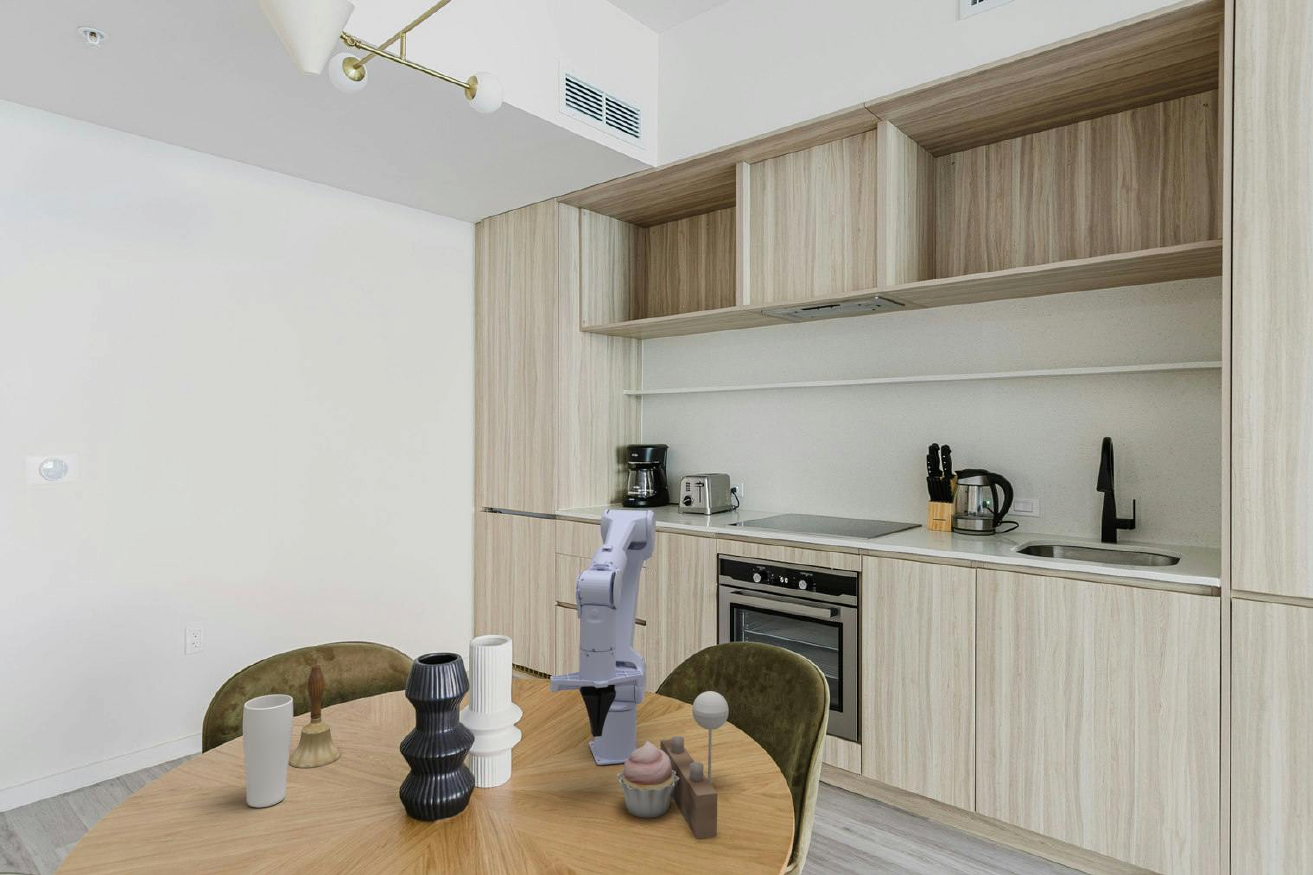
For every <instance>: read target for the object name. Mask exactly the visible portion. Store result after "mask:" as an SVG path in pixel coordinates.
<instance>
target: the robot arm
mask: <svg viewBox="0 0 1313 875" xmlns="http://www.w3.org/2000/svg"><path fill="white" fill-rule="evenodd" d="M656 522H657V520H656V513H655V512H654V511H653V510H652V509H648V510H633V509H629V510H627V509H624V510H623V509H610V508H606V509H605V510H604V511H603V512H602V515H601V518H600V536H601V538H602V543H603V544H602V545H600V546H598V547H597V549H596V550H595V551H594V554H593V556H592V559H591V561H590V562H589V566H588V568H587V569H585V570H584V571H583V572H580V573H579V574H578V575H577V578H576V583H575V601H576V606H577V608H576V609H577V618H578V619H579V658H578V659H579V660H578V662H579V664H578V665H579V666H578V667H579V669H578V671H576V672H572V673H571V672H570V673H567V674H560V675H552V676H550V678H549V679H550V680H549V681H550V683H549V688H550V691H551V693H559V691H572V690H579V693H580V695H581V698H582V700H583V702H584V705H585V707H586V712H587V715H588V718H589V719H588V720H589V725H590V733H591V736H592V738H593V739H594V740H590V741H589V742H588V746H589V748H590V751H591V754H592V755H593V758H594V762H595V763H596V765H597V766H603V765H604V766H605V765H613V764H625V762H626V761H627V760H628V759H629V758H630V755H631V753H632V752H633V751H635V750H637V749H638V748H637V719H638V718H637V716H638V715H637V713H638V712H637V709H638V708H637V707H638V705H641V704H642V703H643V702H644V699H645V696H646V687H647V674H646V673H647V672H646V671H647V664H646V661H645V659H644V657H643V656H642V655H641V654H640V653H638V651H636V650H635V649H634V648H633V647H634V638H635V637H634V636H635V630H636V629H635V626H636V619H637V618H636V616H637V608H638V601H639V600H638V598H639V588H640V580H641V577H640V576H641V571H642V569H643V564H644V562H645V561H646V560H648V559H651V558H652V557H653V552H654V551H655V550H654V549H655V541H656V532H657V531H656V530H657V525H656V524H657V523H656Z"/></svg>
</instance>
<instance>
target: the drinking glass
mask: <svg viewBox="0 0 1313 875" xmlns="http://www.w3.org/2000/svg"><path fill="white" fill-rule="evenodd" d="M242 713H243V714H242V742H243V745H242V746H243V756H244V757H243V758H244V772H245V783H246V784H245V785H246V786H245V787H246V789H245V790H246V793H245V794H246V796H245V798H246V799H245V801H246V804H247V805H248V806H250V807H252V808H266V807H271V806H273V805H277V804H279V803H280V802H282V801H283V800H284V799H285V798H286V794H287V782H288V781H287V780H288V772H289V771H288V770H289V765H290V764H289V758H290V756H291V755H290V754H291V746H292V738H293V728H294V727H293V725H294V698H293V697H292V696H291V695H288V694H279V693H278V694H267V695H261V696H258V697H254V698H252V699H249V700H247V701H246V702H245V703H244V705H243V712H242Z"/></svg>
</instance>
